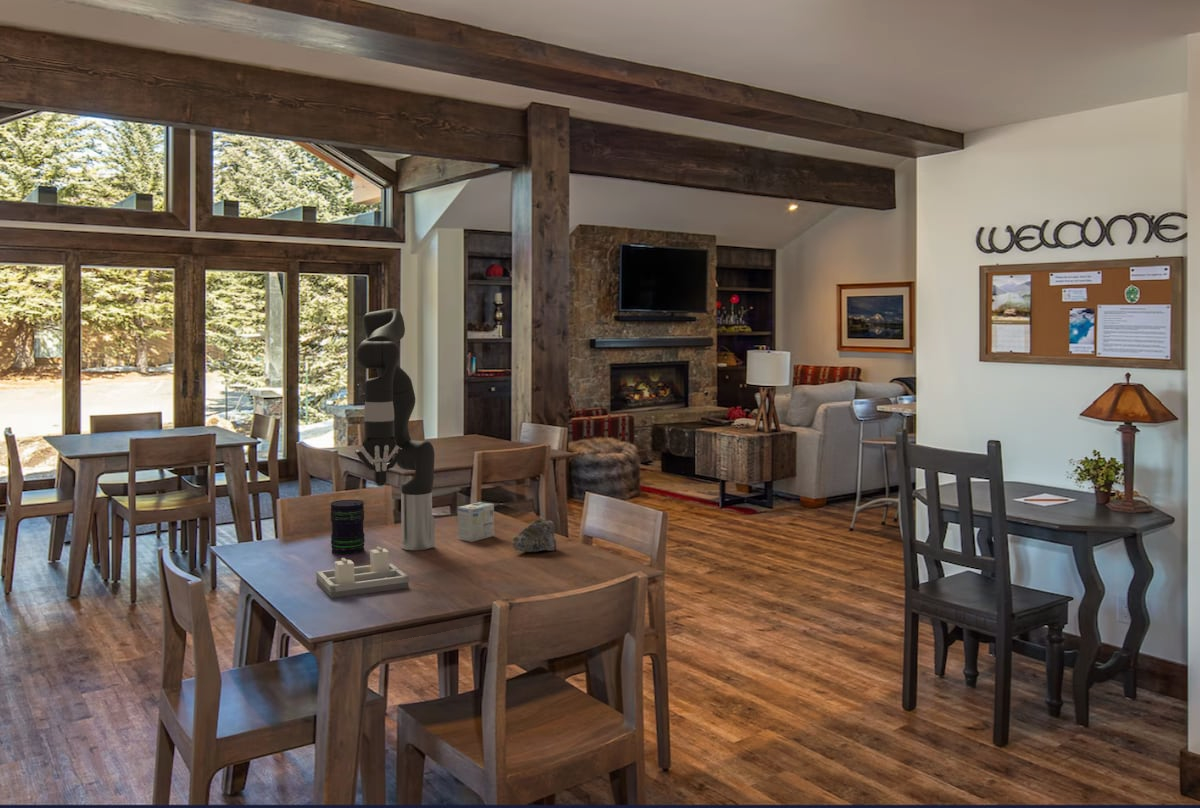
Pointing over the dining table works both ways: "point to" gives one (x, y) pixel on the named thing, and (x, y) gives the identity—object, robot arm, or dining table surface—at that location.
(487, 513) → the light bulb box
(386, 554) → the tab
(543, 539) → the mineral rock
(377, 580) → the switch bank
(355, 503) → the storage jar
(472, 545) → the dining table surface
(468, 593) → the dining table surface
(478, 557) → the dining table surface
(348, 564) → the tab
